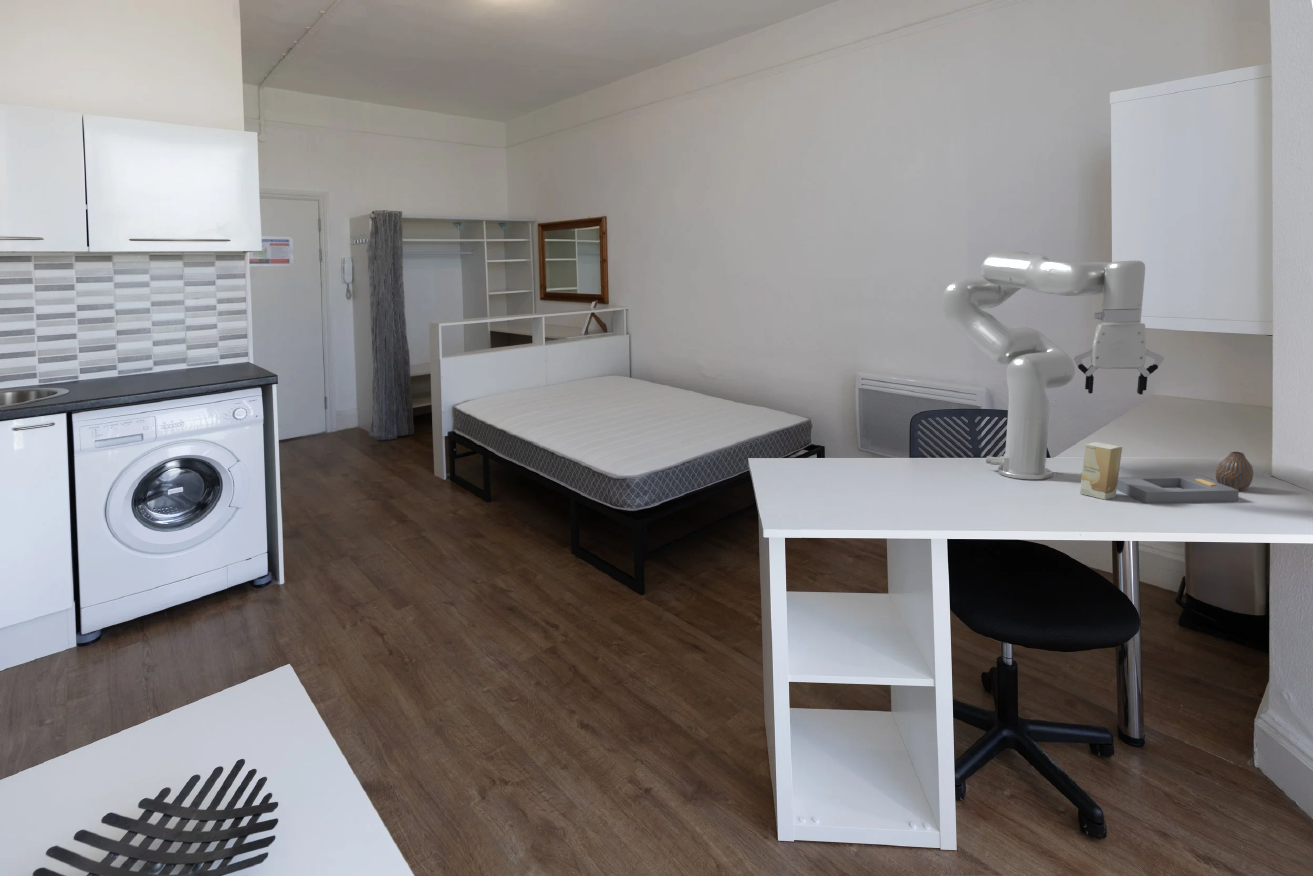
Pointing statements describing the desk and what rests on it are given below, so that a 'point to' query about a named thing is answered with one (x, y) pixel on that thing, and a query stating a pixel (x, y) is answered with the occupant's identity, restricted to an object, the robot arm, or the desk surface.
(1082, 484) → the skincare box
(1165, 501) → the socket dock
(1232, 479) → the vase
